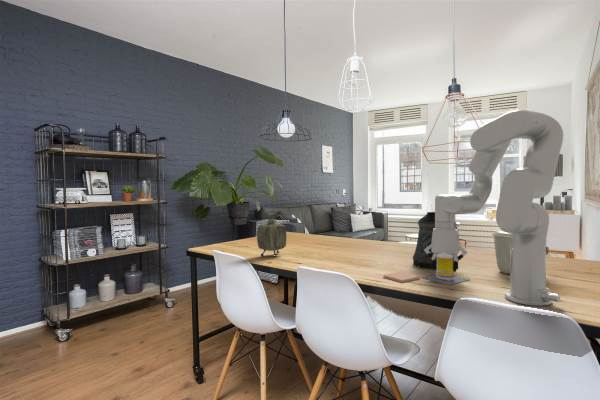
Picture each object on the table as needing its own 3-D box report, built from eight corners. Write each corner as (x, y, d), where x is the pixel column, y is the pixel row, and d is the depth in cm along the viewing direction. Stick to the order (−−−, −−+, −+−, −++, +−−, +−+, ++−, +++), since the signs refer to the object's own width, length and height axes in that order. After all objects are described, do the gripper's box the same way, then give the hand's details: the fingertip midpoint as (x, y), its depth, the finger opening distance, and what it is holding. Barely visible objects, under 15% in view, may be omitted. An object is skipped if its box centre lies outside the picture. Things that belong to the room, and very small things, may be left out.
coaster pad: (419, 278, 141) (419, 276, 141) (402, 282, 136) (402, 280, 136) (400, 273, 150) (400, 271, 149) (383, 277, 144) (383, 274, 144)
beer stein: (412, 260, 175) (411, 211, 174) (454, 262, 170) (454, 211, 169) (413, 268, 159) (413, 213, 158) (459, 270, 154) (459, 213, 153)
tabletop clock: (278, 253, 202) (277, 209, 201) (288, 255, 195) (287, 210, 194) (257, 256, 193) (256, 211, 192) (266, 259, 186) (265, 211, 185)
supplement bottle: (456, 280, 136) (456, 248, 136) (438, 280, 138) (437, 247, 137) (452, 276, 143) (452, 245, 142) (435, 276, 144) (434, 244, 144)
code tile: (470, 280, 138) (470, 279, 138) (449, 285, 131) (449, 284, 131) (441, 273, 149) (441, 272, 149) (421, 277, 142) (421, 277, 142)
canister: (492, 266, 160) (492, 220, 159) (540, 270, 151) (540, 222, 150) (490, 275, 144) (490, 224, 144) (544, 280, 135) (544, 226, 134)
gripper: (469, 225, 139) (469, 270, 139) (423, 223, 147) (424, 266, 147) (468, 227, 132) (468, 274, 133) (420, 225, 140) (420, 270, 141)
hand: (445, 269), depth 140 cm, fingers closed on supplement bottle, 6 cm apart
